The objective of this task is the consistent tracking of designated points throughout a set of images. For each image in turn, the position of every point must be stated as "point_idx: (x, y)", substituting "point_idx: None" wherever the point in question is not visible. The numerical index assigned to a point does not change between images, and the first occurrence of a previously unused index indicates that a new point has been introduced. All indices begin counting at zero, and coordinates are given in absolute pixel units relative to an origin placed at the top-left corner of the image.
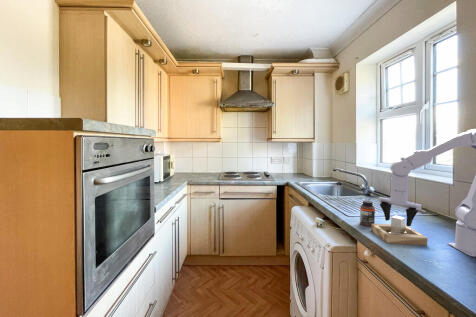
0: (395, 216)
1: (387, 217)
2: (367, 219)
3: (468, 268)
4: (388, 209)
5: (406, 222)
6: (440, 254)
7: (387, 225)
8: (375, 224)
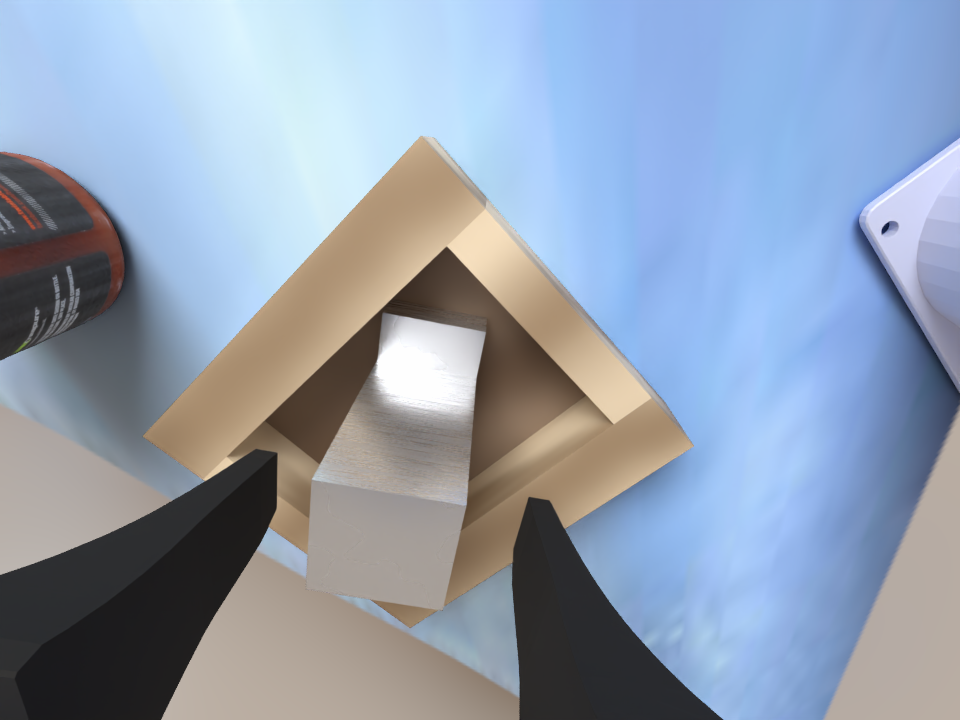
0: (336, 537)
1: (254, 536)
2: (21, 350)
3: (866, 590)
4: (165, 626)
5: (513, 600)
6: (744, 506)
7: (281, 362)
8: (186, 433)
